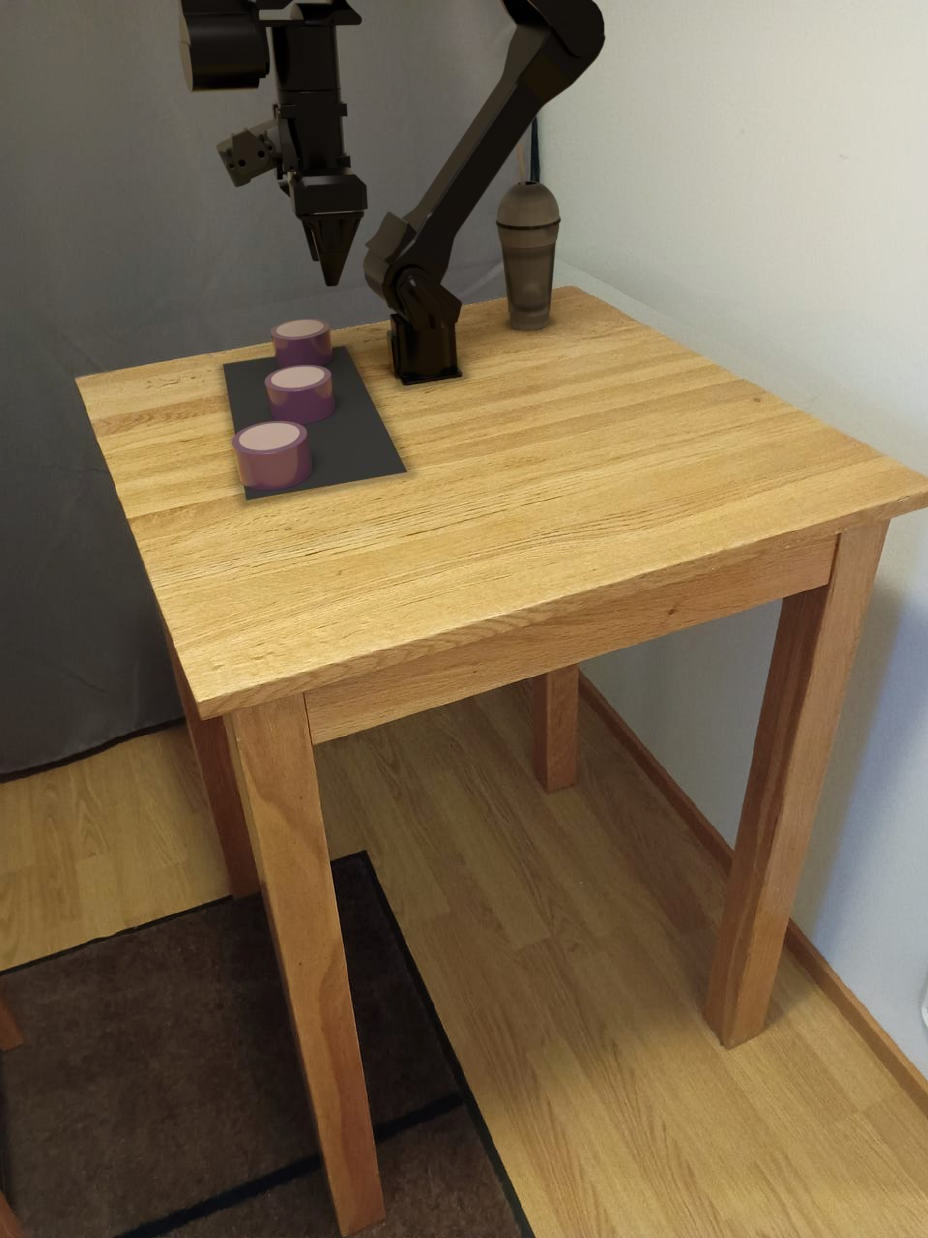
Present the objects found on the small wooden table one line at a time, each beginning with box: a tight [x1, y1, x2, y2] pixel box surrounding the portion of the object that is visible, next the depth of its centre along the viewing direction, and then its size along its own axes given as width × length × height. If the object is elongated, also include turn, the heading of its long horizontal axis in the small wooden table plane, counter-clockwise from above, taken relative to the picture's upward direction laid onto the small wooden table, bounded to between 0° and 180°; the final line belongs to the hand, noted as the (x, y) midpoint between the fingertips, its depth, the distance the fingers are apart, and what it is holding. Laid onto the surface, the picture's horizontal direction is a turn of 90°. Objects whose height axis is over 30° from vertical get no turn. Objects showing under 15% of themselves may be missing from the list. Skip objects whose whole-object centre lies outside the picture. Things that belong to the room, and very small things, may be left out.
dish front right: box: [231, 421, 313, 491], centre depth 81 cm, size 6×6×4 cm
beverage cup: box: [495, 138, 562, 331], centre depth 104 cm, size 7×7×20 cm
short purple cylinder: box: [270, 318, 334, 368], centre depth 103 cm, size 6×6×4 cm
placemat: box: [222, 345, 408, 501], centre depth 93 cm, size 14×33×1 cm, turn 15°
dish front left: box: [265, 365, 336, 425], centre depth 91 cm, size 6×6×4 cm
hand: (324, 272), depth 90 cm, fingers open, 9 cm apart
